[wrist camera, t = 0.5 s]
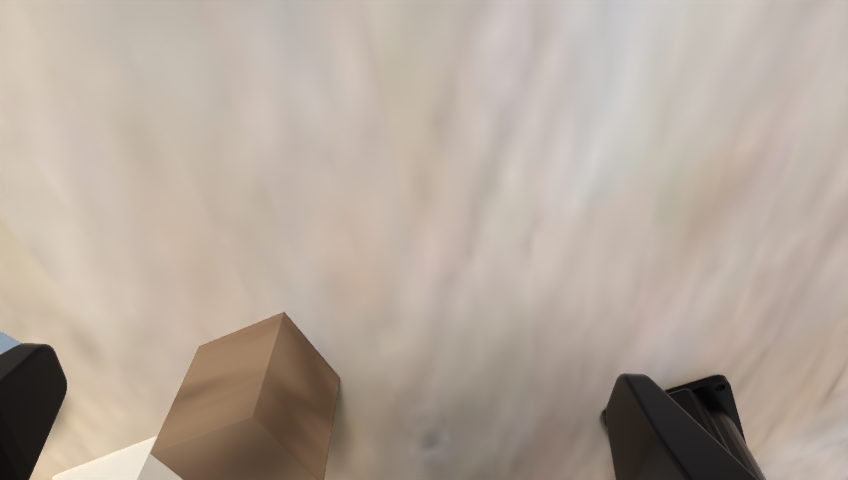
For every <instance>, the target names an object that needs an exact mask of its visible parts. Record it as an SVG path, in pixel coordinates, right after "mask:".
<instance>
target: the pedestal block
mask: <svg viewBox="0 0 848 480" xmlns="http://www.w3.org/2000/svg"><path fill="white" fill-rule="evenodd" d="M157 437H158V436H155V437H153V438H150V439H148V440H145V441H142V442H140V443H137V444H135V445H132V446H129V447H127V448H124V449H122V450H119V451H116V452H114V453H111V454H109V455H106V456H103V457H101V458H98V459H96V460H93V461H90V462H88V463H85V464H83V465H80V466H77V467H75V468H72V469H70V470H67V471H64V472H62V473H59V474H57V475H54V476H53V478H52V480H183V479H182V478H180V477H179V476H178V475H177V474H175V473H174V472H173V471H171V470H170V469H169V468H168V467H166V466H165V465H164V464H163V463H161V462H160V461H159V460H157V459H156V458H155V457H154V456H152V455H151V454H150V452H151V450H152V448H153V446H154V443H155V441H156V439H157Z"/></svg>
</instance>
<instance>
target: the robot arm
mask: <svg viewBox="0 0 848 480" xmlns="http://www.w3.org/2000/svg"><path fill="white" fill-rule="evenodd" d="M66 391H67V380H66V377H65V374H64V372H63V370H62V367H61V365H60V362H59V360H58V358H57V355H56V353H55V351H54V349H53V348H52V347H51V346H50V345H47V344H34V343H23V344H19V345H17V346H15V347H13V348H11V349H9V350H7V351H6V352H4V353H2V354H0V480H29V478H30V476H31V474H32V472H33V470H34V467H35V465H36V463H37V460H38V458H39V456H40V453H41V451H42V449H43V446H44V444H45V442H46V439H47V437H48V435H49V432H50V430H51V428H52V426H53V423H54V421H55V419H56V416H57V414H58V412H59V409H60V407H61V405H62V402H63V400H64V398H65V395H66ZM602 415H603V419H604V422H605V424H606V426H607V429H608V435H609V441H610V446H611V452H612V458H613V464H614V470H615V475H616V480H766V479H765V477H764V475H763V473H762V472H761V470H760V468H759V466H758V465H757V463H756V461H755V459H754V457H753V456H752V454H751V452H750V450H749V449H748V447H747V445H746V441H745V438H744V434H743V430H742V427H741V423H740V419H739V416H738V412H737V408H736V405H735V401H734V397H733V393H732V390H731V386H730V384H729V382H728V380H727V379H726V377H725V376H723V375H717V376H713V377H709V378H706V379H703V380H699V381H696V382H693V383H690V384H686V385H683V386H680V387H676V388H673V389H670V390H667V391H663V390H662V389H661V388H660V387H659V386H658V385H657V384H656V383H655V382H654V381H653V380H652V379H650V378H649V377H648V376H646V375H643V374H626V373H624V374H621V375H620V376H619V377H618V378H617V380H616V383H615V386H614V388H613V391H612V394H611V396H610V399H609V402H608V405H607V408H606V410H605V411H604V412H603V414H602Z"/></svg>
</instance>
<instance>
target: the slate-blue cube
mask: <svg viewBox="0 0 848 480" xmlns="http://www.w3.org/2000/svg"><path fill="white" fill-rule="evenodd" d="M19 344H22V343H20V342H19V341H17V340H15V339H13V338H12V337H10V336H8V335H6V334H4V333H3V332H1V331H0V354H2V353H4V352H6V351H7V350H9V349H11V348H13V347H15V346H17V345H19Z"/></svg>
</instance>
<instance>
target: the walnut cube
mask: <svg viewBox="0 0 848 480" xmlns="http://www.w3.org/2000/svg"><path fill="white" fill-rule="evenodd" d="M339 380H340V377H339V376H338V375H337V374H336V373H335V371H334V370H333V369H332V368H331V367H330V365H329V364H328V363H327V362H326V361H325V360H324V358H323V357H322V356H321V355H320V354H319V352H318V351H317V350H316V349H315V348H314V346H313V345H312V344H311V343H310V342H309V341H308V339H307V338H306V337H305V336H304V335H303V333H302V332H301V331H300V330H299V329H298V328H297V326H296V325H295V324H294V323H293V322H292V320H291V319H290V318H289V317H288V316H287V315H286V313H285V312H283V313H280V314H278V315H275V316H273V317H270V318H268V319H266V320H263V321H261V322H258V323H256V324H253V325H251V326H248V327H246V328H243V329H241V330H239V331H236V332H234V333H231V334H229V335H226V336H224V337H221V338H219V339H216V340H214V341H212V342H209V343H207V344H204V345H202V346H199V348H198V350H197V352H196V354H195V357H194V359H193V361H192V363H191V365H190V367H189V370H188V372H187V374H186V376H185V378H184V380H183V383H182V385H181V387H180V389H179V391H178V393H177V396H176V398H175V400H174V402H173V404H172V407H171V409H170V411H169V413H168V415H167V417H166V420H165V422H164V424H163V426H162V428H161V430H160V433H159V435H158V437H157V439H156V441H155V443H154V446H153V448H152V450H151V452H150V454H151V455H152V456H154V457H155V458H156V459H157V460H159V461H160V462H161V463H163V464H164V465H165V466H166V467H168V468H169V469H170V470H171V471H173V472H174V473H175V474H177V475H178V476H179V477H180V478H182V479H183V480H324V476H325V470H326V464H327V457H328V451H329V444H330V438H331V431H332V425H333V419H334V412H335V406H336V399H337V393H338V387H339Z"/></svg>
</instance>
